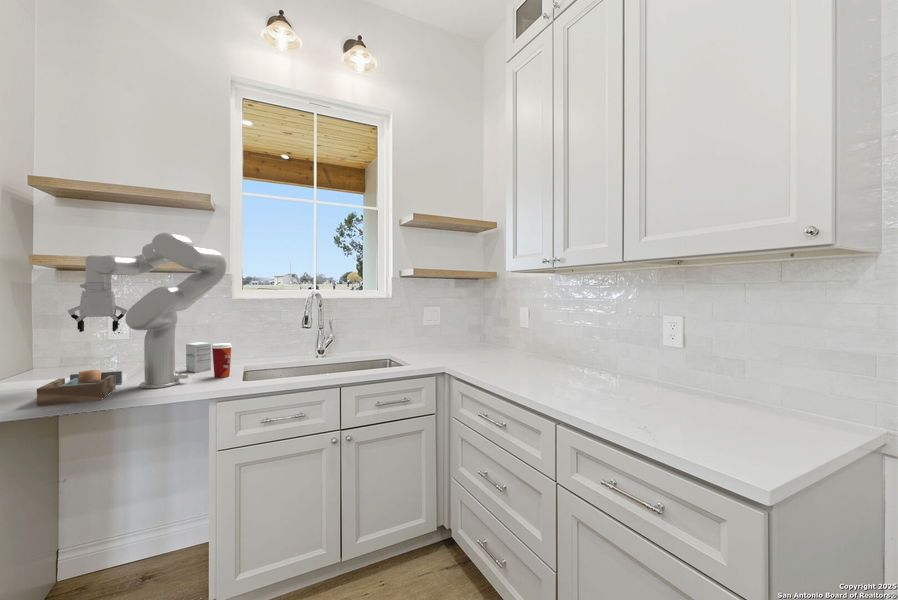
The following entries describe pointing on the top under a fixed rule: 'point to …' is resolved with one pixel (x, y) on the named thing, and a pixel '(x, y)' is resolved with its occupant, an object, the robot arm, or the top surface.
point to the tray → (75, 381)
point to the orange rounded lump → (89, 376)
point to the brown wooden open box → (74, 392)
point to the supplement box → (198, 357)
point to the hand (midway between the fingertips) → (98, 331)
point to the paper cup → (221, 359)
